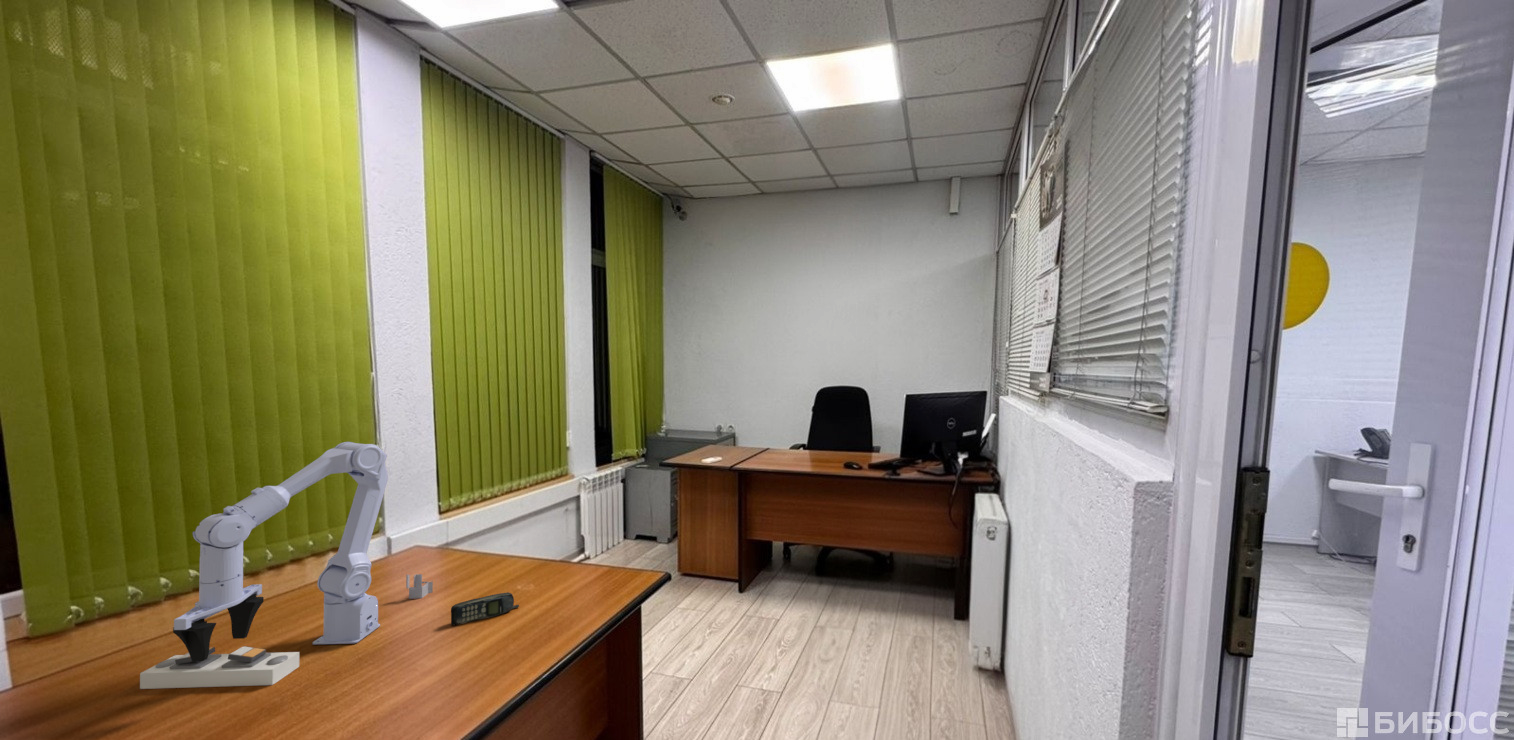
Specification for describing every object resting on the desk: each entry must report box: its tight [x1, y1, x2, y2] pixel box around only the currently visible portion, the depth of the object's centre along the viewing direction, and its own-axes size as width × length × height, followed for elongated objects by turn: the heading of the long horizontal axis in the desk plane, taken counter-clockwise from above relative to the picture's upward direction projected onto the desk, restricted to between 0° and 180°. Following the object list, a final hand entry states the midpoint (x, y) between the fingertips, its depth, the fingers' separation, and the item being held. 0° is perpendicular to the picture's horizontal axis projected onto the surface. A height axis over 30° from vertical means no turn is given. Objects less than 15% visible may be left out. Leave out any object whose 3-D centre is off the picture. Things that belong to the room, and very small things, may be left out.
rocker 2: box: [228, 645, 267, 662], centre depth 99 cm, size 4×3×1 cm
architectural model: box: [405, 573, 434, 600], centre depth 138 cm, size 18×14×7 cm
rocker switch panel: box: [139, 651, 300, 690], centre depth 98 cm, size 24×6×4 cm, turn 93°
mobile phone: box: [450, 592, 520, 626], centre depth 123 cm, size 5×3×15 cm
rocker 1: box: [175, 646, 216, 664], centre depth 98 cm, size 4×3×1 cm
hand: (220, 648), depth 95 cm, fingers open, 7 cm apart
